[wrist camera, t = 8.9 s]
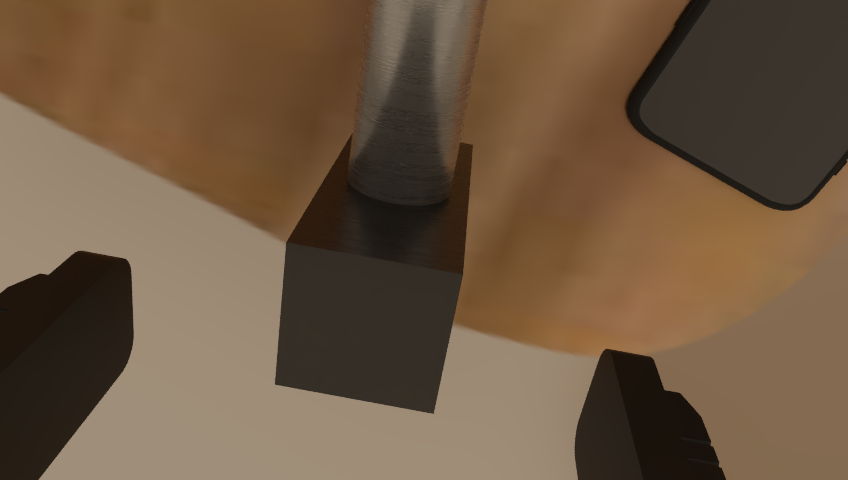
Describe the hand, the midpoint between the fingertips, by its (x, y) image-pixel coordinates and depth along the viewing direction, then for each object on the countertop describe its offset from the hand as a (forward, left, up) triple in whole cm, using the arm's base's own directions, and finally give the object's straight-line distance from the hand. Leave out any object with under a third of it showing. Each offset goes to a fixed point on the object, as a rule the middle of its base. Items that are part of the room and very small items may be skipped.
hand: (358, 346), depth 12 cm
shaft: (-7, 0, -8) cm, 11 cm away
